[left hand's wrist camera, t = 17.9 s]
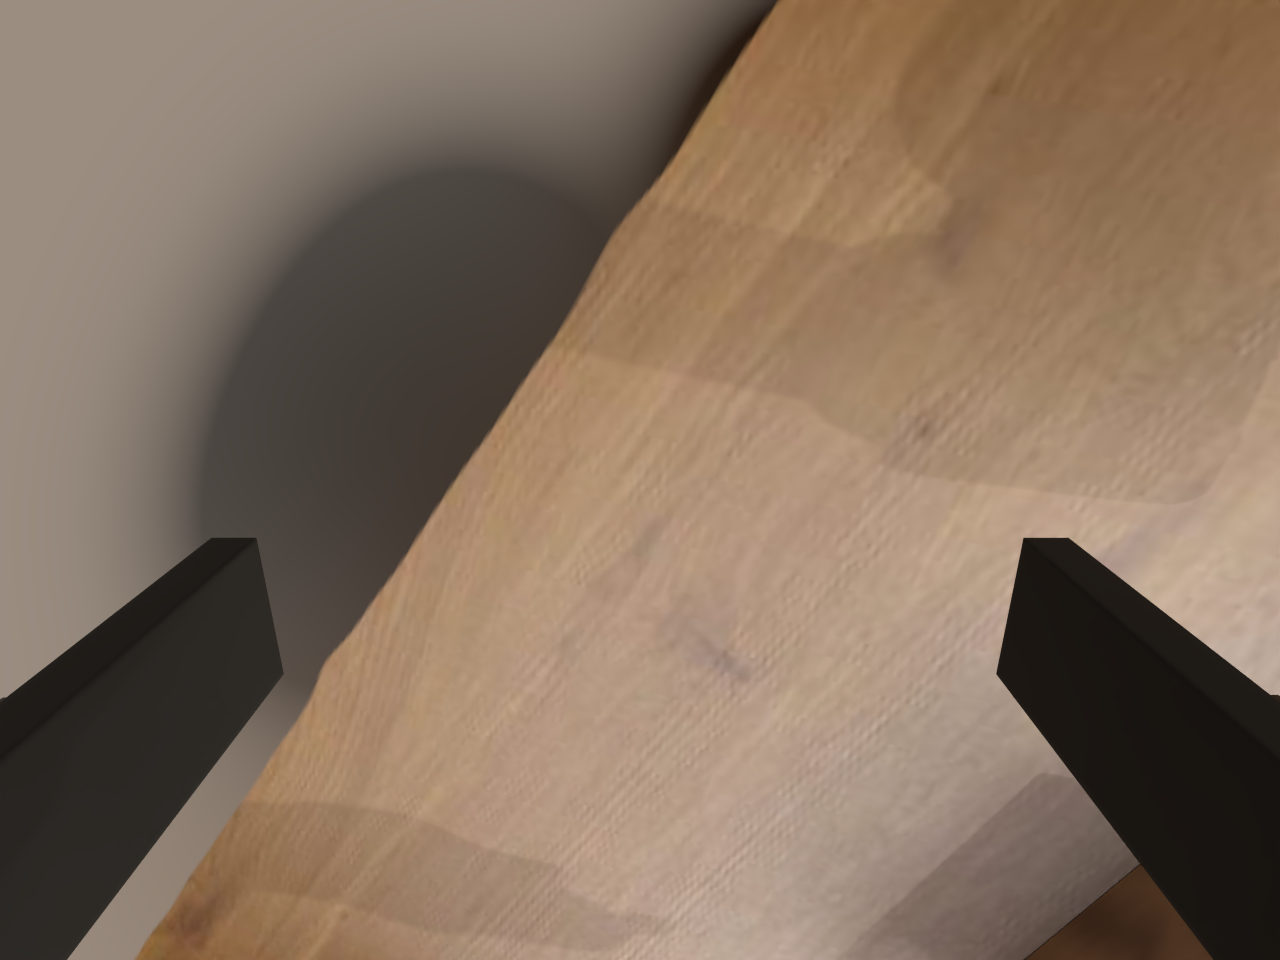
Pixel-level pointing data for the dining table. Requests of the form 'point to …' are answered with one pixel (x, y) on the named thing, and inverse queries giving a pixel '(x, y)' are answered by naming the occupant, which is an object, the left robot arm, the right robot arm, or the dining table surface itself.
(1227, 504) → the dining table surface
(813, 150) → the dining table surface
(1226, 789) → the left robot arm
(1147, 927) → the box
